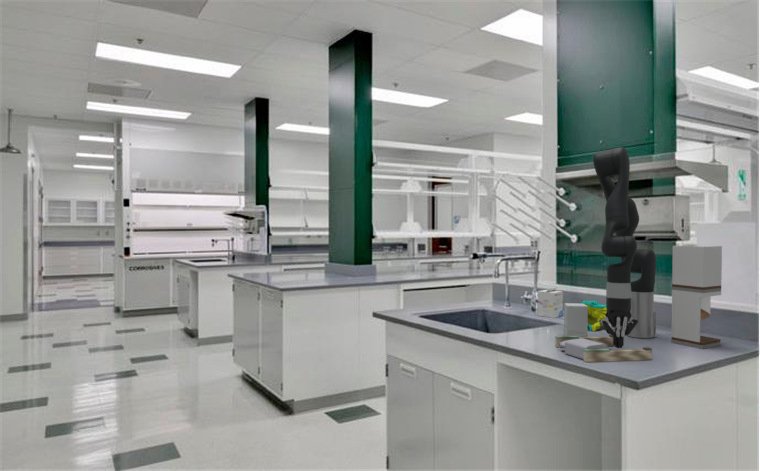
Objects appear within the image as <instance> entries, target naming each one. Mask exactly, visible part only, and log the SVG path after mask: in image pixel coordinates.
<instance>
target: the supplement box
mask: <svg viewBox="0 0 760 471" xmlns="http://www.w3.org/2000/svg"><path fill="white" fill-rule="evenodd" d="M563 306H564V307H563V336H579V337H588V333H589V332H588V331H589V330H588V306H586V305H585V304H581V303H577V302H575V303H574V302H573V303H572V302H571V303H570V302H566V303H565V302H563Z"/></svg>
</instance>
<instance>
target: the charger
mask: <svg viewBox="0 0 760 471" xmlns="http://www.w3.org/2000/svg"><path fill="white" fill-rule="evenodd" d="M559 343H560V346H562V347H563V348H564V354H565V355H568V356H570V357H571V356H572V357H574V358H578V359H580V360H583V352H584V349H608V346H607V345H606V344H603V343H599V342H595V341H591V340H587V339H583V338H582V339H574V340H567V341H563V342H559Z"/></svg>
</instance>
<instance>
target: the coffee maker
mask: <svg viewBox="0 0 760 471" xmlns="http://www.w3.org/2000/svg"><path fill="white" fill-rule="evenodd" d="M722 255H723V246H722V245H717V246H715V245H714V246H713V245H712V246H695V245H694V244H691V245H689V244H688V245H685V244H683V245H681V244H680V245H672V262H671V264H672V271H671V272H672V273H671V277H672V278H671V279H672V280H671V334H670V335H671V338H670V339H671V344H672V343H673V344H677V345H682V346H686V347H691V348H696V349H699V350H700V349H701V350H704V349H709V348H713V347H717V346H721V339H720V338H717V337H710V336H705V335H701V321H703V320H706V319H709V318H710V317H711V302H712V301H711V297H714V296H722V270H723V269H722V266H723V264H722V262H723V260H722V258H723V256H722Z"/></svg>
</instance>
